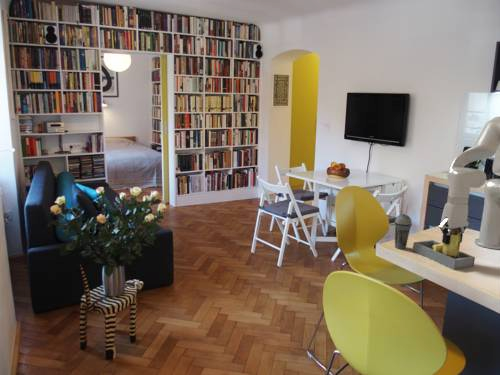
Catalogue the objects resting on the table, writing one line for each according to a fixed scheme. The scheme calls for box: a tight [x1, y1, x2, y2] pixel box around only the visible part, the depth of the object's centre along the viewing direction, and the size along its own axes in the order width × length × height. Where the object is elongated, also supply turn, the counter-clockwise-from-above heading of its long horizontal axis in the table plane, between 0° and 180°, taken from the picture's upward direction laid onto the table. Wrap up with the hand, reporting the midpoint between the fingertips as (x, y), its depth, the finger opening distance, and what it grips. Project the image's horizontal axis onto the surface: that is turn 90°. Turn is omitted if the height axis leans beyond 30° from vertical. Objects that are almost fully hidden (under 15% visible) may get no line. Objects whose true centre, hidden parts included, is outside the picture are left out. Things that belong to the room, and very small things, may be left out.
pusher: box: [432, 243, 443, 253], centre depth 176 cm, size 8×5×5 cm, turn 113°
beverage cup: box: [394, 204, 413, 250], centre depth 183 cm, size 7×7×20 cm
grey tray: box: [412, 239, 476, 271], centre depth 174 cm, size 11×22×4 cm, turn 23°
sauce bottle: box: [442, 226, 461, 259], centre depth 168 cm, size 6×6×20 cm
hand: (451, 242), depth 169 cm, fingers closed on sauce bottle, 6 cm apart
